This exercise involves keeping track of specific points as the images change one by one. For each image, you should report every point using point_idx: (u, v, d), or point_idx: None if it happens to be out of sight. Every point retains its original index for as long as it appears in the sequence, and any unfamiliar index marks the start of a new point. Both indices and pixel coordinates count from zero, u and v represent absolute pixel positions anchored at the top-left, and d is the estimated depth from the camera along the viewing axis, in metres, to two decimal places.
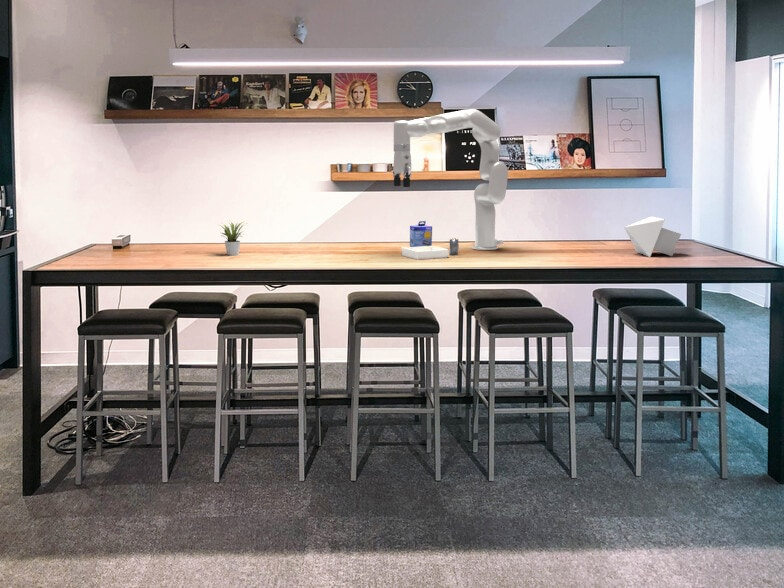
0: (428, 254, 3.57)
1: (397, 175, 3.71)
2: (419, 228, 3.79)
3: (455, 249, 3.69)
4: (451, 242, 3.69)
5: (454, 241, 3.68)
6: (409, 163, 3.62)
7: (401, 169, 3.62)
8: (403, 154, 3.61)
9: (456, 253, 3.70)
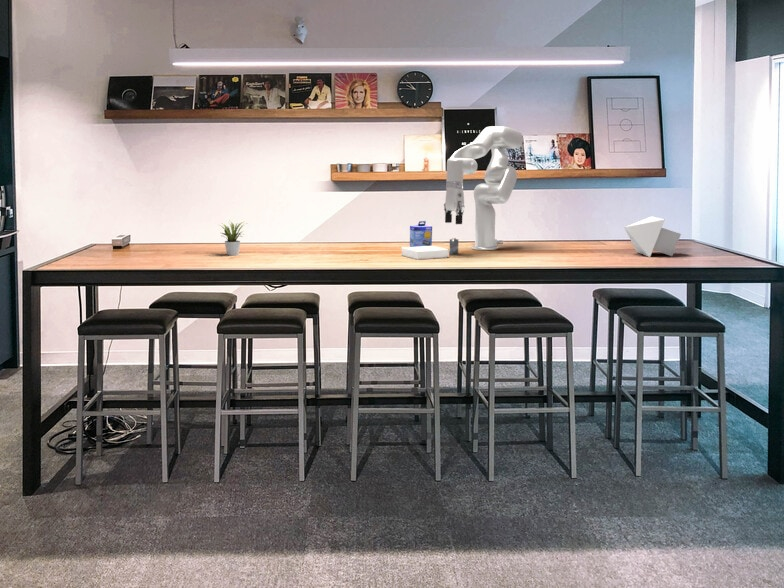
0: (428, 254, 3.57)
1: (448, 212, 3.72)
2: (419, 228, 3.79)
3: (455, 249, 3.69)
4: (451, 242, 3.69)
5: (454, 241, 3.68)
6: (462, 200, 3.63)
7: (454, 206, 3.63)
8: (456, 192, 3.62)
9: (456, 253, 3.70)
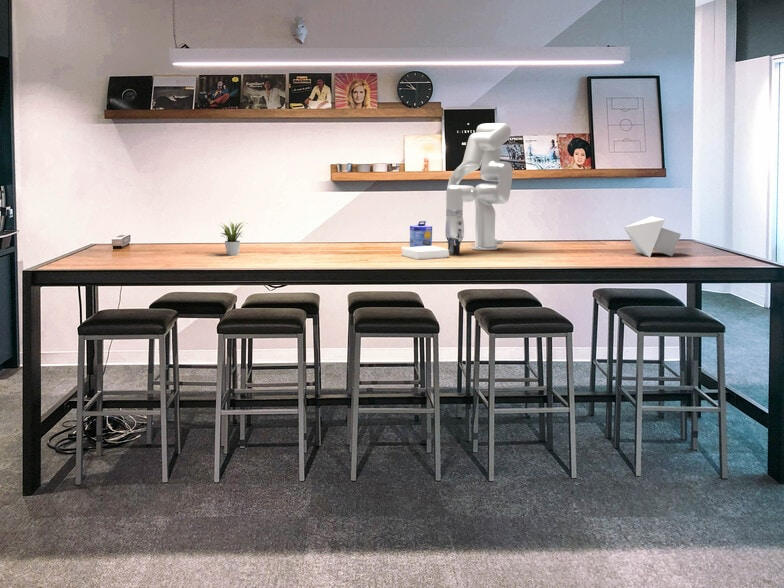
0: (428, 254, 3.57)
1: None
2: (419, 228, 3.79)
3: None
4: (451, 242, 3.69)
5: None
6: (462, 228, 3.65)
7: (454, 234, 3.65)
8: (456, 220, 3.64)
9: None
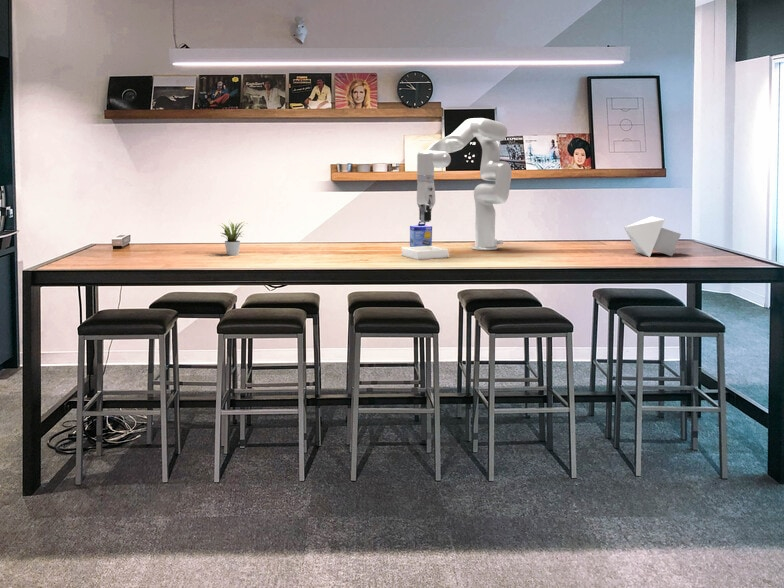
0: (428, 254, 3.57)
1: None
2: (419, 228, 3.79)
3: None
4: (422, 209, 3.60)
5: None
6: (433, 194, 3.56)
7: (425, 201, 3.56)
8: (427, 185, 3.55)
9: None
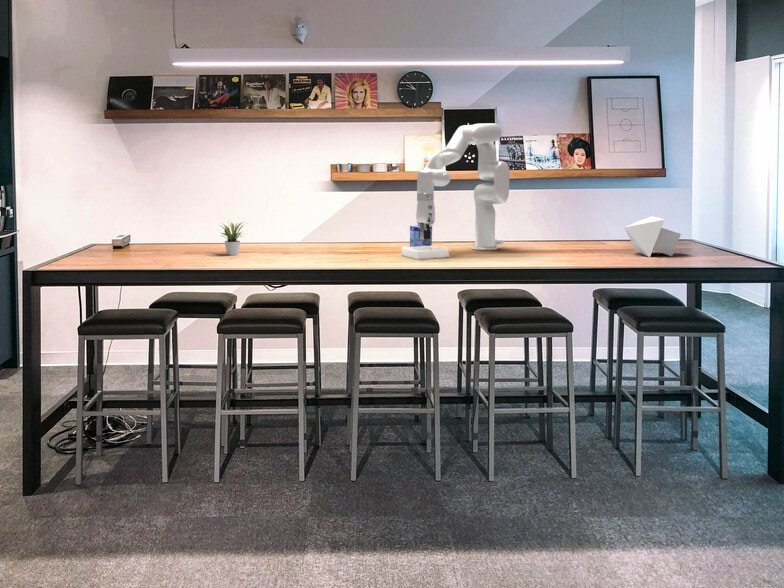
0: (428, 254, 3.57)
1: None
2: None
3: None
4: (422, 227, 3.61)
5: None
6: (433, 213, 3.58)
7: (424, 219, 3.58)
8: (427, 204, 3.56)
9: None
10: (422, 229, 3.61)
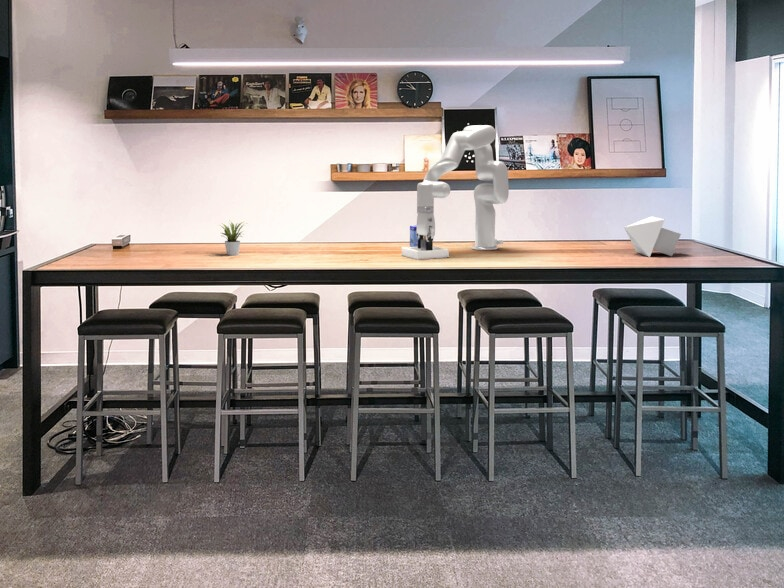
0: (428, 254, 3.57)
1: (421, 237, 3.68)
2: None
3: None
4: (422, 242, 3.63)
5: (425, 241, 3.62)
6: (433, 225, 3.59)
7: (425, 231, 3.59)
8: (427, 216, 3.57)
9: None
10: (422, 245, 3.63)
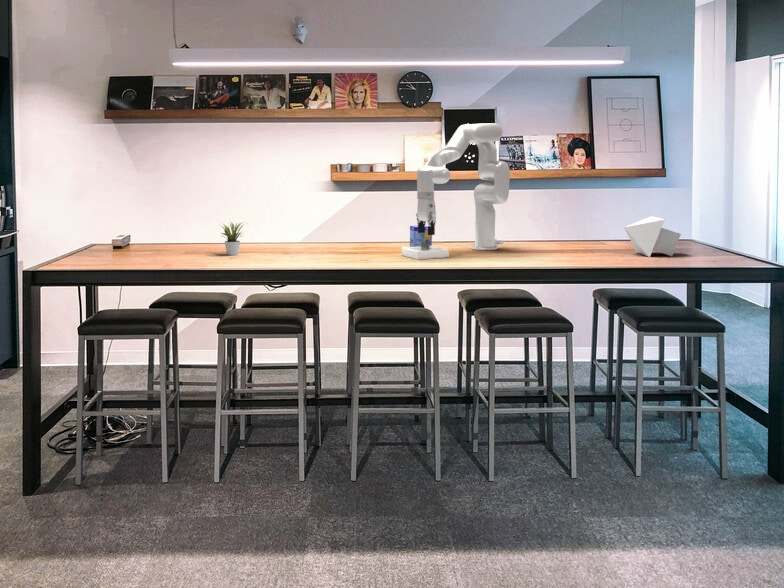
0: (428, 254, 3.57)
1: (421, 222, 3.67)
2: None
3: (426, 249, 3.63)
4: (422, 242, 3.63)
5: (425, 241, 3.62)
6: (433, 211, 3.58)
7: (425, 217, 3.58)
8: (427, 202, 3.56)
9: None
10: (422, 245, 3.63)
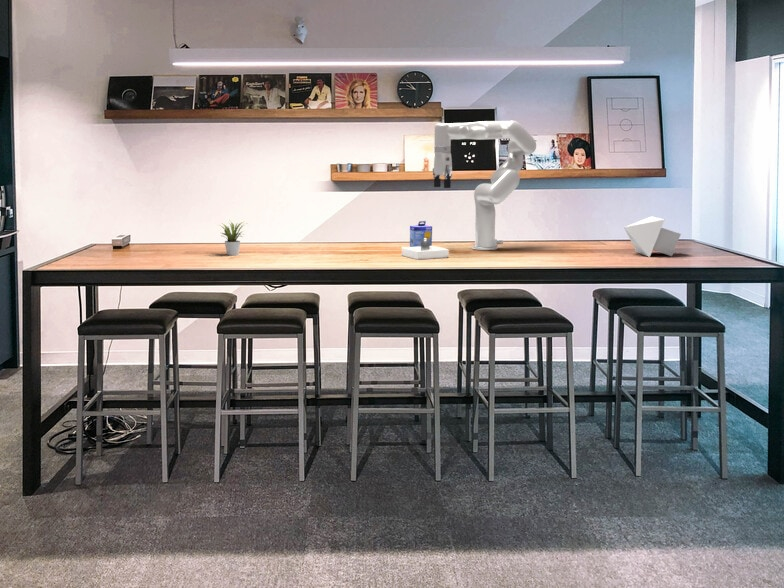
0: (428, 254, 3.57)
1: (437, 176, 3.80)
2: (419, 228, 3.79)
3: (426, 249, 3.63)
4: (422, 242, 3.63)
5: (425, 241, 3.62)
6: (450, 165, 3.71)
7: (442, 170, 3.71)
8: (444, 156, 3.70)
9: None
10: (422, 245, 3.63)
